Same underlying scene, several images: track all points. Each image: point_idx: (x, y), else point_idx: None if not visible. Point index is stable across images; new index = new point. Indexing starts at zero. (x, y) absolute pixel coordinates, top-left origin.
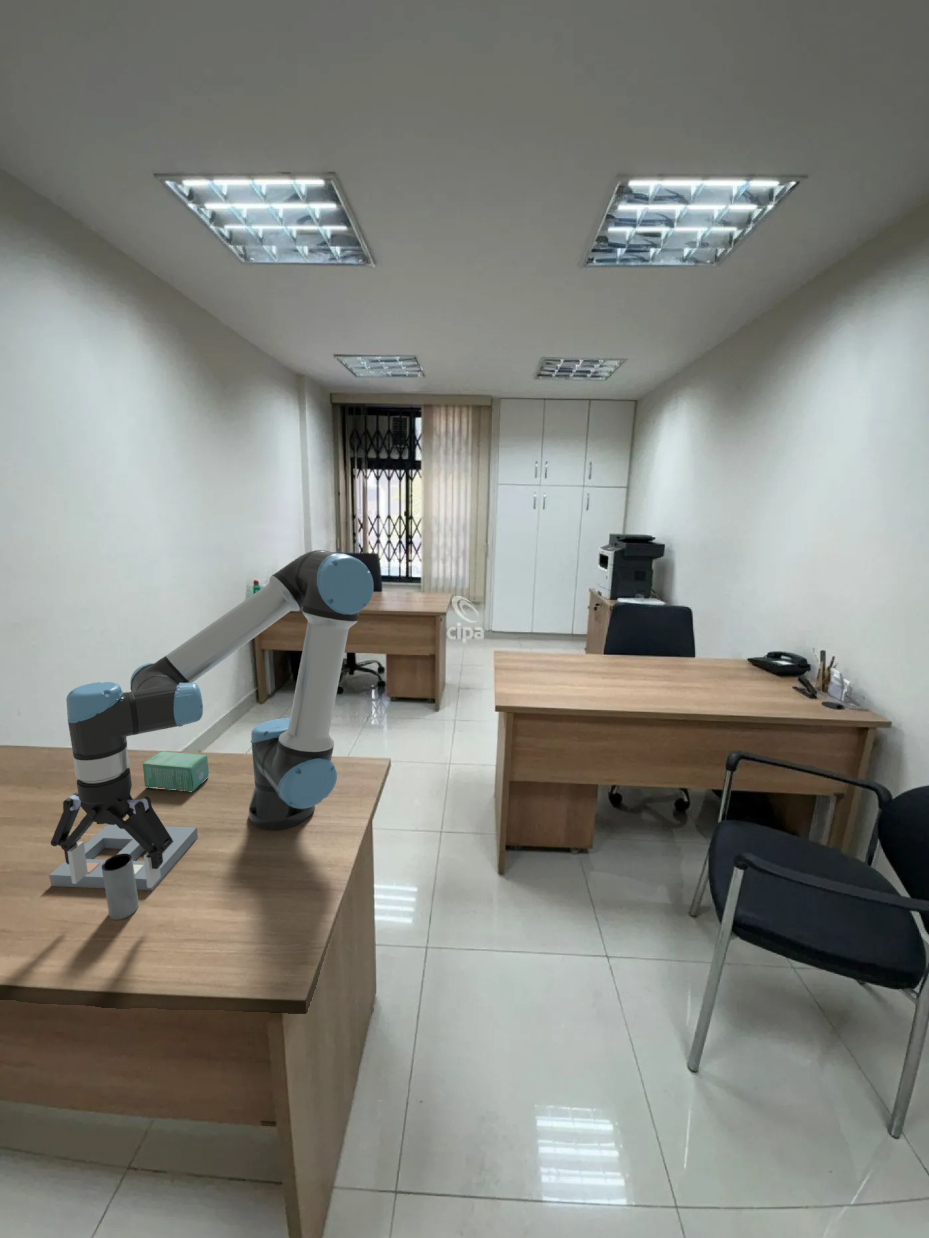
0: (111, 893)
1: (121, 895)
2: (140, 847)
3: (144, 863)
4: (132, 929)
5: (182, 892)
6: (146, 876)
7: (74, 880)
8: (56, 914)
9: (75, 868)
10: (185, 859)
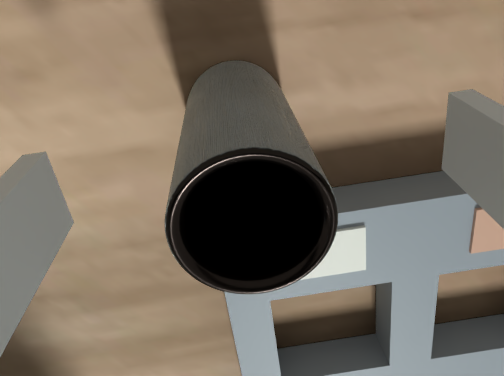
0: (231, 93)
1: (194, 107)
2: (385, 337)
3: (302, 286)
4: (121, 32)
5: (98, 220)
6: (11, 185)
7: (466, 97)
8: (479, 37)
9: (499, 134)
10: (215, 330)
